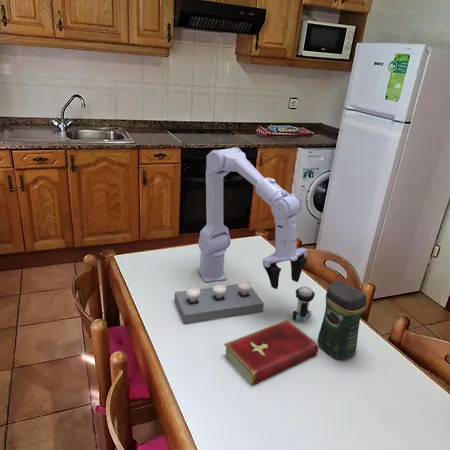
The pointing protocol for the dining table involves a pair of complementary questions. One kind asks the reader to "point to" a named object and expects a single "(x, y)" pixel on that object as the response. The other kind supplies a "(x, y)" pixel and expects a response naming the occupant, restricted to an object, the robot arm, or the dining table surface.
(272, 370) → the hardcover book
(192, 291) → the knob
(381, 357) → the dining table surface
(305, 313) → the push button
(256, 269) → the dining table surface
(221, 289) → the knob middle
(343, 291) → the coffee jar
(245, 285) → the knob
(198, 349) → the dining table surface
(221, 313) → the knob panel
